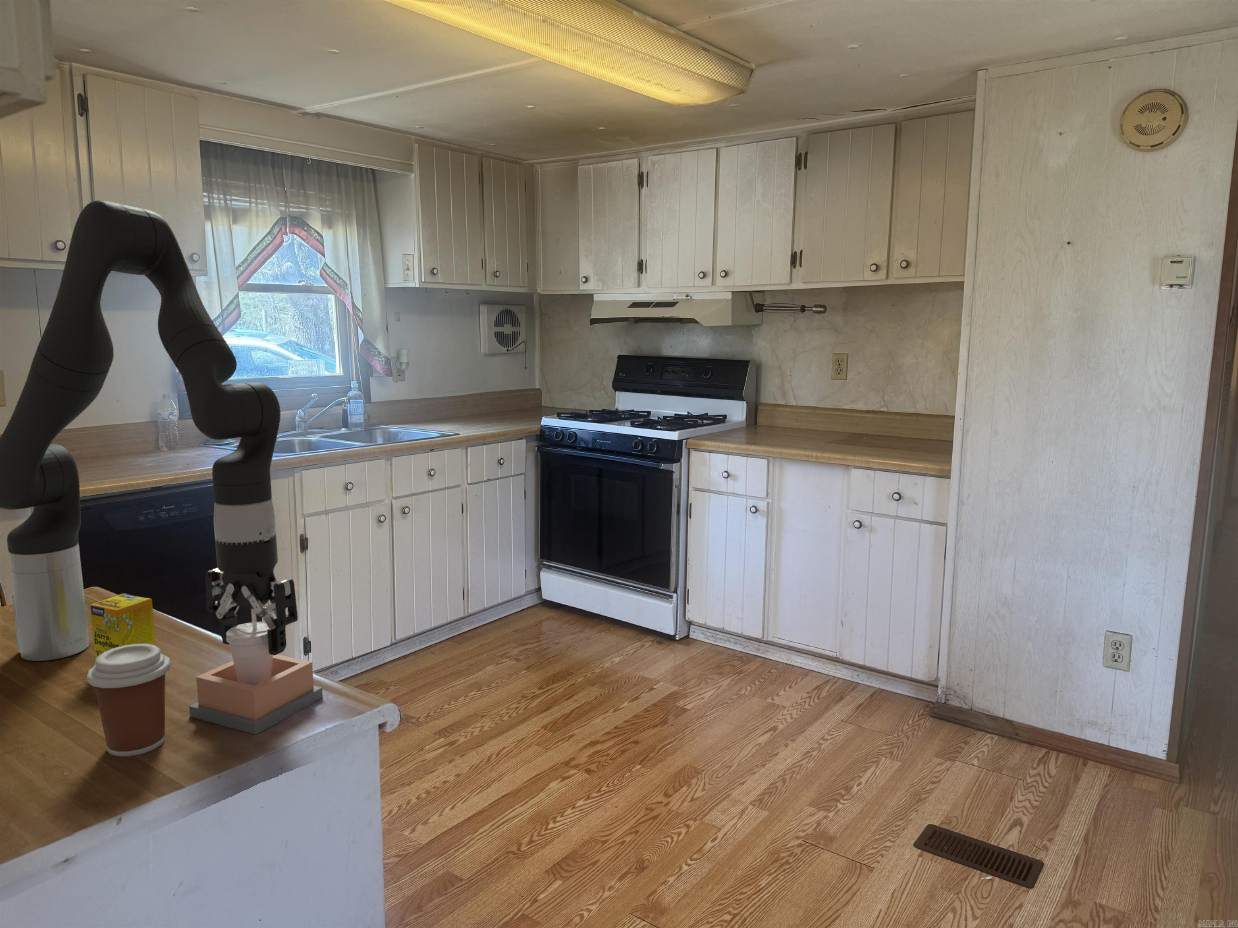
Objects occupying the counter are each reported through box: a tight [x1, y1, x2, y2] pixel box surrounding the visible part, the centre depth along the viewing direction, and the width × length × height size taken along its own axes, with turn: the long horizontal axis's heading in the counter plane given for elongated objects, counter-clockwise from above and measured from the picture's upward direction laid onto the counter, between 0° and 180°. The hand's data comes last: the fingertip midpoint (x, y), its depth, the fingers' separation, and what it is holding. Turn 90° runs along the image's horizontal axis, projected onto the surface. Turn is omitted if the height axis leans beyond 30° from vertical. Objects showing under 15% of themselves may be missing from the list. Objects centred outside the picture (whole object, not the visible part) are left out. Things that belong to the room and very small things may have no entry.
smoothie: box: [226, 609, 273, 686], centre depth 117 cm, size 6×6×14 cm
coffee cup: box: [86, 644, 171, 757], centre depth 107 cm, size 9×9×12 cm
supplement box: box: [89, 592, 157, 660], centre depth 129 cm, size 6×6×11 cm
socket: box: [188, 653, 324, 735], centre depth 117 cm, size 12×12×6 cm
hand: (253, 647), depth 116 cm, fingers open, 8 cm apart
